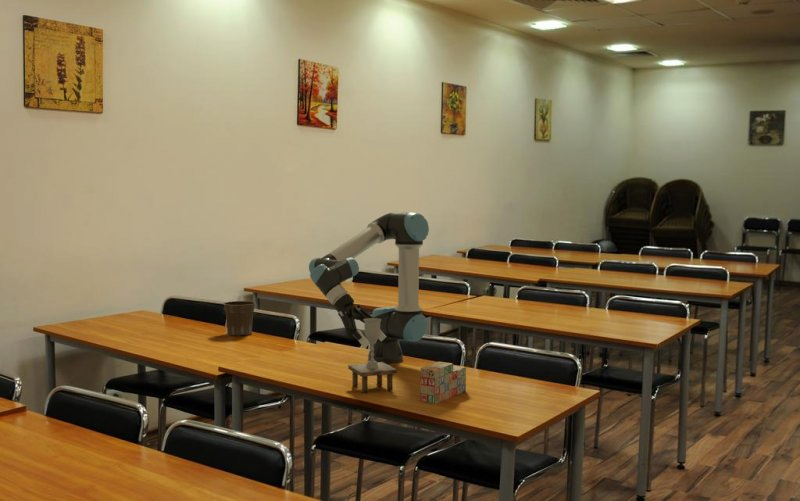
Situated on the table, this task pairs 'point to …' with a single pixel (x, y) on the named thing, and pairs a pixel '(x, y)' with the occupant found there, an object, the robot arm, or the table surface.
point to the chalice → (372, 338)
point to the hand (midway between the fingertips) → (375, 342)
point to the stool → (365, 372)
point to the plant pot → (239, 317)
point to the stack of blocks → (441, 381)
